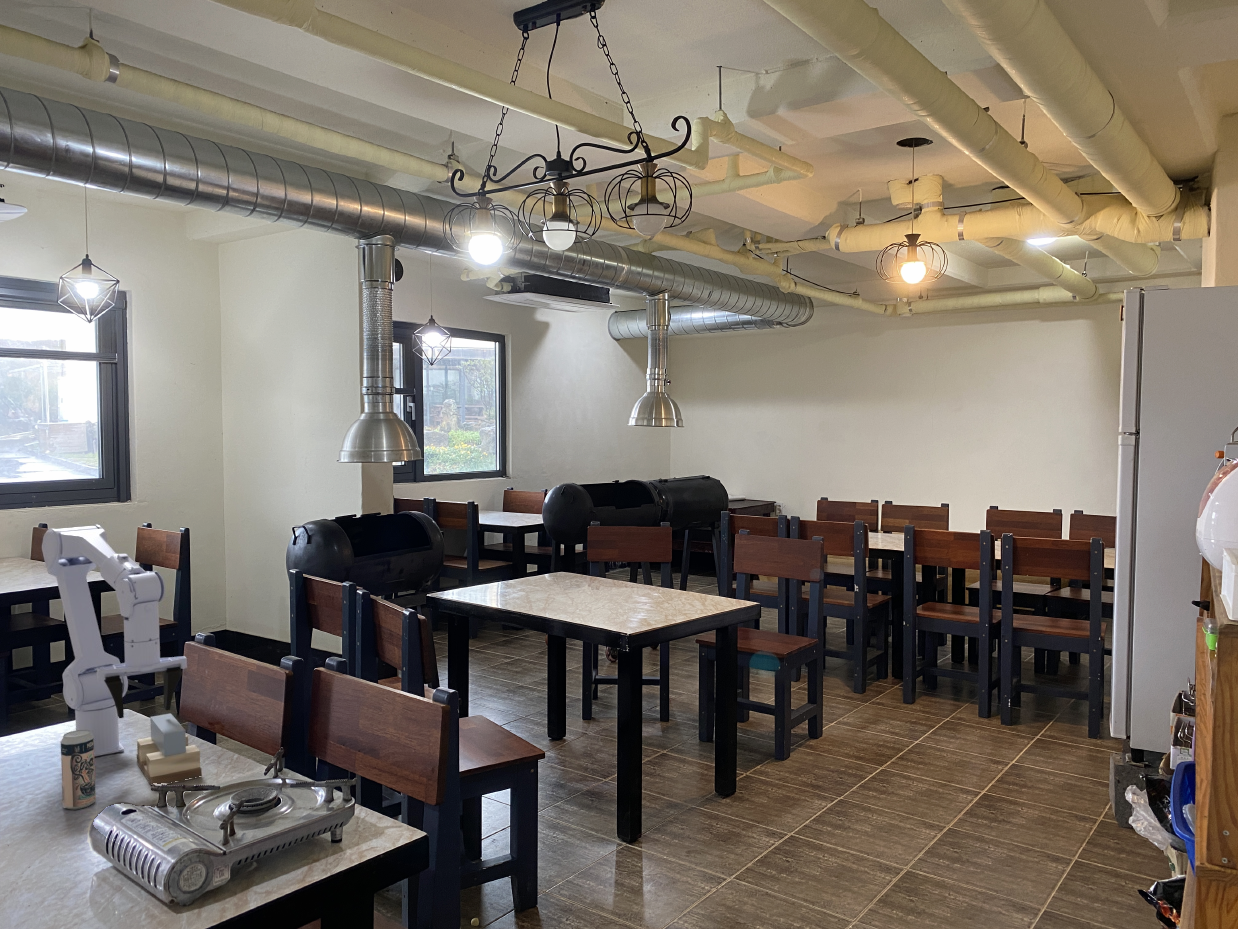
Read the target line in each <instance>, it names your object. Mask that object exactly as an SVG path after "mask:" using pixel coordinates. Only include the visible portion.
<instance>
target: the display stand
mask: <svg viewBox="0 0 1238 929" xmlns="http://www.w3.org/2000/svg"><path fill="white" fill-rule="evenodd" d="M185 735H186V753H181V754H176V755H171V756H166V757H164V755H163V754H162V753H161V751H160V750H159V748H158V747H157V746H156V744H155V743H154V742H153V740H152V739H151V736H149V737H145V738H140V739H136V744H137V745H136V746H137V751H136V752H137V754H136V763H137V765H138V766H139V768H140V770H141V772H142V773H143V775H144V777H145V779H146V780H147V782H148V783H149V785H150V786H151V784H153V783H157V784H161V783H171V782H172V783H171V784H175V783H174V782H175V781H179V782H178V783H181V782H185V781H186V780H185V779H189V778H195V777H199V776H202V777H203V775H202V774H203V773H202V768H201V751H200V749H199V748H198V747H197V745H196V744H192V745H189V736H188V735H187V733H186V732H185ZM199 778H200V777H199ZM195 779H196V778H195ZM184 780H185V781H184Z"/></svg>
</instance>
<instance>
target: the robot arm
mask: <svg viewBox="0 0 1238 929" xmlns="http://www.w3.org/2000/svg"><path fill="white" fill-rule="evenodd" d="M41 551H42V554H43V559H44V564H45V568H46V570H47V574H49V575H51V576H52V577H55V578H56V582H57V586H58V590H59V595H60V598H61V603H62V607H63V612H64V616H65V620H66V625H67V628H68V629H67V630H68V633H69V637H70V642H71V647H72V651H73V656H74V660H73V661H72V662H71V663H70V664H69V665H68V666H67V667H66V668H65V669H64V671H63V673H62V681H63V688H62V693H63V698H64V701H65V703H66V704H67V705H68V707H69V708H71V709H73V710H74V713H75V717H74V718H75V731H76V730H90V731H91V733H92V734H93V736H94V758H95V757H100V756H105V755H110V754H115V753H121V752H124V751H125V748H124V746H123V744H122V743H121V741H120V737H119V736H120V735H119V734H120V733H119V719H123V718H125V716H124V714H125V711H124V704H123V702H124V700H123V697H125V696H126V693H127V691H128V687H129V681H128V677H130V676H136V675H143V674H148V673H149V674H150V673H155V672H156V673H157V672H162V678H163V709H164V710H165V711H170V710H171V706H172V701H173V697H174V694H175V690H176V687H177V686H178V683H179V681H180V680H181V677H182V676H183V675H182V674H183V673H182V670H184V669H188V662H187V661H188V658H187V657H186V656H185V655H183V656H174V657H173V656H172V657H161V651H160V650H161V646H160V645H161V644H160V615H159V614H160V612H159V611H160V610H159V609H160V608H159V603H160V602H162V600H163V599H164V596H165V591H166V587H165V581H164V578H163V577H162V575H161V574H160V573H159V571H158V570H152V571H149V570H144V569H143V567H141V566H140V565H139V564H138V563H136V562H135V560H133V559H132V558H131V557H130V556H129V554H127V553H117V552H115V550H114V549H113V547H111V545H109V543H108V538H107V532H106V530H105V529H104V528H103V527H102V526H101V525H99V524H93V525H88V526H85V525H84V526H75V527H64V528H49V529H47V530H46V532H45V533H44V535H43V538H42V543H41ZM97 567H99V568H100V570H99V573H100V576H101V578H102V579H103V580H104V581H105V582H106V583H107V584H108V585H110V587H111V588H113V589H114V590H115V594H116V595H115V596H116V599H117V601H118V605H119V613H120V616H122V617H123V636H124V638H123V640H124V641H123V644H124V645H123V646H124V662H122V663H121V662H120V659H119V657H117V656H114V655H112V654H109V653H107V652H106V651H105V650H104V646H103V642H102V637H101V632H100V629H99V625H98V624H99V623H98V620H97V616H96V613H95V608H94V604H93V601H92V600H93V599H92V596H91V595H92V594H91V591H90V588H89V583H88V579H87V575H88V573H90V572H91V571H93V570H95V569H97ZM181 669H182V670H181Z"/></svg>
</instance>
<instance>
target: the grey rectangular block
mask: <svg viewBox="0 0 1238 929" xmlns="http://www.w3.org/2000/svg"><path fill="white" fill-rule="evenodd" d="M149 718H150V737H151V739H152V740H153V742H154V743H155V744H156V746H157V747H158V748H159V750H160V751H161V753H162V754H163V755H164V757H166V756H171V755H176V754H181V753H186V735H187V734H186V735H185V733H186V729H185V728H184V727H183V726H182V725H181V724H180V722H179V721H178V720H177V719H176V718H175V717H174V715H173V714H172V713H166V714H160V715H159V714H158V715H154V716H150V717H149Z"/></svg>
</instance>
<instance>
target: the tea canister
mask: <svg viewBox="0 0 1238 929" xmlns="http://www.w3.org/2000/svg"><path fill="white" fill-rule="evenodd" d="M60 761H61V764H60V765H61V767H60V768H61V787H62V788H61V789H62V790H61V791H62V807H63V808H65V809H68V810H71V811H72V810H73V811H74V810H75V811H76V810H82V809H84V808H87V807H90V806H91V805H92V804H94V803H95V802H96V800H97V795H96V773H95V772H96V770H95V768H96V767H95V764H96V763H95V757H94V736H93V734H92V733H91V731H90V730H76V729H75V730H73V731H72V730H71V731H68V732H66V733H64V734H63V736H62V739H61V740H60Z"/></svg>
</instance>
